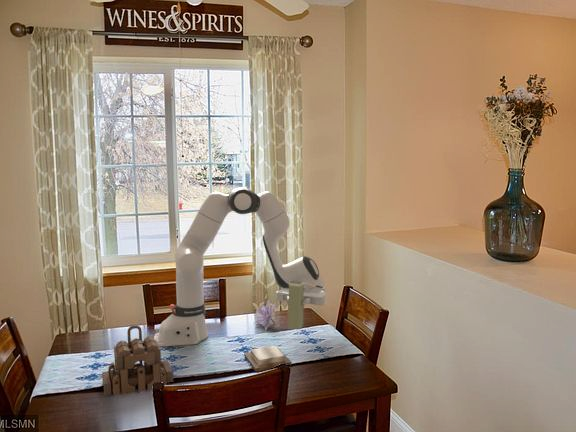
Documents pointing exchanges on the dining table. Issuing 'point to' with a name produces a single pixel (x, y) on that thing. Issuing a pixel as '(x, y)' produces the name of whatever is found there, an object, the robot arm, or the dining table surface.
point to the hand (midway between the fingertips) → (295, 302)
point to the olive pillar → (296, 304)
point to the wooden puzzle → (136, 366)
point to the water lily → (265, 314)
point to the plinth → (266, 366)
